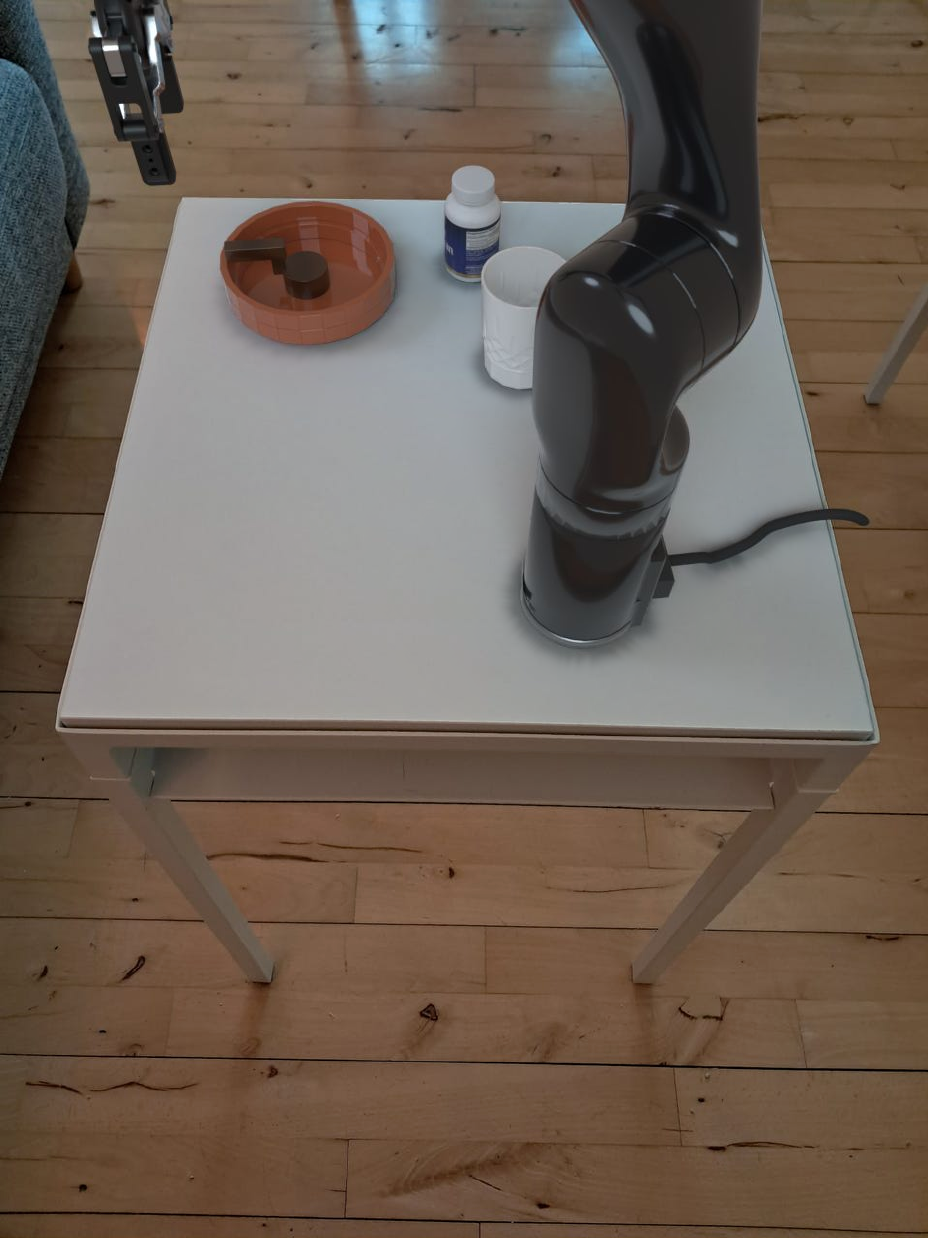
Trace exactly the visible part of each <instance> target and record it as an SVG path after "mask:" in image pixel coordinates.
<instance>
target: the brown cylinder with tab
mask: <svg viewBox="0 0 928 1238" xmlns="http://www.w3.org/2000/svg"><path fill="white" fill-rule="evenodd" d="M223 243H224V244H223V247H224V253H225V257H226V261H227V263H232V262H248V261H263V260H271V263H272V268H273V273H274V275H283V278H284V284H285V288H286V290H287V292H288V293H289V294H290V295H291V296H293V297H295V298H298V299H305V300H306V299H314V298H317V297H320V296H322V295H323V294H324V293H326V291H327V290H328V289H329V286H330V278H329V271H328V264H327V261H326V259H325V258H324V257H323V256H322V255H320V254H319V253H316V252H312V251H300V252H296V253H293V254H291V255H289V256H288V257H287V251H286V244H285V238H267V239H252V240H236V241H226V240H225V241H224V242H223Z"/></svg>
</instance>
